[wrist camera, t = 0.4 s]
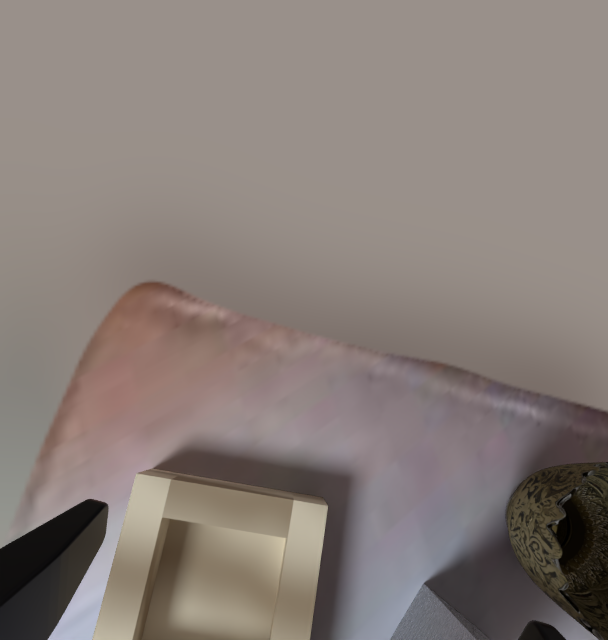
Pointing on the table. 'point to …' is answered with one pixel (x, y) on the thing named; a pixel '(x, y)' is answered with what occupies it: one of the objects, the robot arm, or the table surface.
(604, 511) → the cup
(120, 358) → the table surface
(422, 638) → the steel bar
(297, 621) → the socket block
